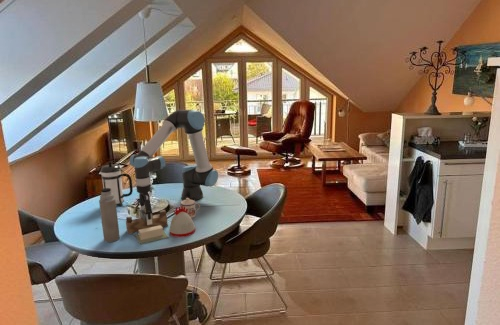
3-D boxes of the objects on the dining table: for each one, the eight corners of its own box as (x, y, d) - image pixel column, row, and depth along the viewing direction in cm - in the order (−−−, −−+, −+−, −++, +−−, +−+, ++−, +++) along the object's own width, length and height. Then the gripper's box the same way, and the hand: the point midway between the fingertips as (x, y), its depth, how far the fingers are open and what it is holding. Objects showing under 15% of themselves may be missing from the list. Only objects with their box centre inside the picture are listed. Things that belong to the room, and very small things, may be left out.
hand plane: (165, 222, 219) (164, 209, 217) (167, 225, 215) (166, 211, 213) (126, 230, 209) (125, 216, 207) (128, 234, 205) (127, 219, 203)
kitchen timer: (165, 231, 208) (163, 205, 204) (187, 224, 216) (185, 200, 212) (176, 239, 197) (174, 212, 194) (199, 232, 205) (198, 206, 202)
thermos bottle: (107, 235, 204) (101, 186, 197) (122, 235, 203) (116, 186, 197) (101, 242, 196) (94, 191, 189) (116, 242, 196) (110, 191, 189)
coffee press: (112, 210, 242) (107, 165, 235) (98, 205, 252) (93, 162, 245) (134, 202, 256) (130, 160, 249) (121, 198, 265) (116, 157, 258)
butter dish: (162, 229, 209) (161, 222, 208) (168, 237, 199) (167, 229, 198) (135, 235, 202) (134, 228, 201) (139, 244, 192) (139, 236, 191)
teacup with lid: (184, 220, 223) (183, 201, 220) (179, 215, 230) (177, 197, 228) (202, 215, 228) (201, 197, 226) (197, 211, 236) (196, 193, 233)
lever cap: (149, 215, 216) (148, 206, 214) (152, 219, 208) (152, 210, 207) (140, 216, 213) (139, 207, 212) (143, 221, 206) (142, 212, 205)
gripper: (131, 180, 215) (135, 214, 220) (141, 191, 194) (145, 229, 199) (144, 178, 219) (148, 212, 224) (155, 189, 197) (159, 226, 202)
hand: (146, 220), depth 211 cm, fingers open, 13 cm apart
